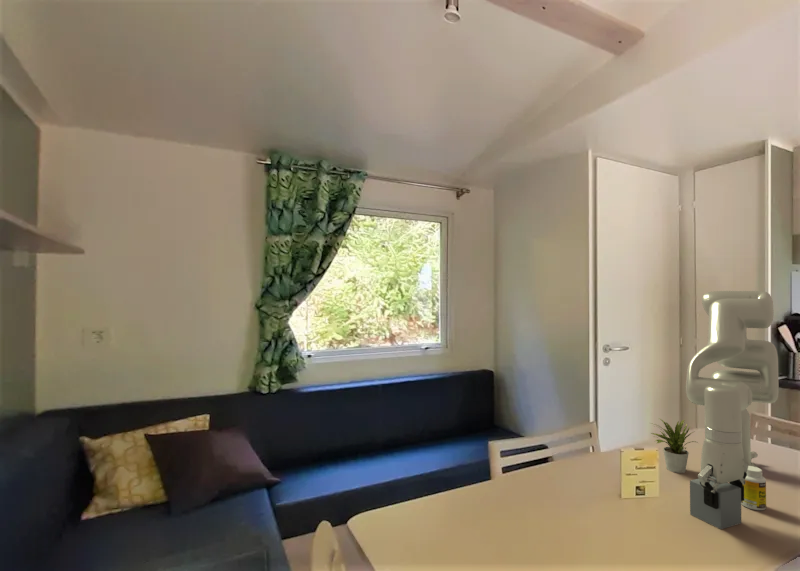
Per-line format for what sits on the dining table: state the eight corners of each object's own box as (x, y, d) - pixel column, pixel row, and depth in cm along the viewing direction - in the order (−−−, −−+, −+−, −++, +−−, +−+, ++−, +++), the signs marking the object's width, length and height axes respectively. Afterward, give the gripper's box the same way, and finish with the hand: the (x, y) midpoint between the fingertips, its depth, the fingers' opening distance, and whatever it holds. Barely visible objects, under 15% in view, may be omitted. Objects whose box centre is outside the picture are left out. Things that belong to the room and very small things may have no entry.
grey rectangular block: (710, 508, 118) (709, 475, 118) (741, 523, 110) (740, 488, 110) (690, 514, 115) (689, 480, 115) (720, 529, 108) (720, 493, 108)
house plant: (657, 456, 154) (656, 409, 154) (704, 467, 144) (704, 417, 145) (645, 468, 144) (644, 418, 144) (694, 481, 134) (694, 427, 134)
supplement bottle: (761, 513, 115) (761, 474, 115) (736, 505, 120) (735, 467, 120) (769, 507, 118) (769, 469, 118) (744, 499, 123) (744, 462, 123)
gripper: (729, 425, 118) (731, 489, 118) (684, 435, 111) (685, 502, 112) (761, 434, 111) (762, 502, 111) (715, 445, 104) (716, 517, 105)
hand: (724, 502), depth 111 cm, fingers open, 9 cm apart
